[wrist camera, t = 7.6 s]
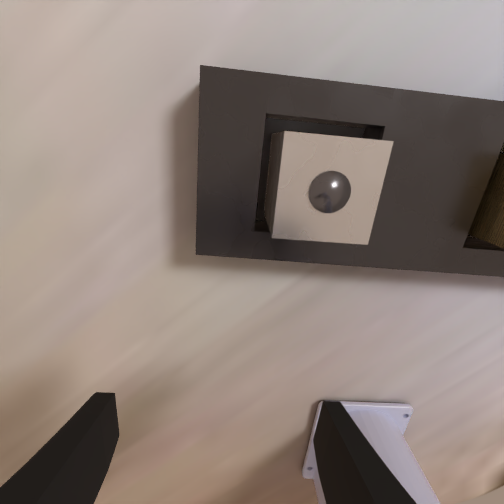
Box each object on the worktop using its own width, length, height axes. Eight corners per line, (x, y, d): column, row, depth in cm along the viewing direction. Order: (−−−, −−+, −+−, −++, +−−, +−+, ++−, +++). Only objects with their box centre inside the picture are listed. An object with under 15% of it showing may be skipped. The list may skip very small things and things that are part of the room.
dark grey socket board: (549, 266, 20) (589, 282, 17) (201, 240, 18) (195, 254, 16) (623, 125, 16) (684, 123, 14) (206, 76, 15) (200, 65, 12)
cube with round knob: (334, 217, 18) (368, 245, 13) (263, 212, 17) (272, 238, 13) (349, 141, 16) (394, 141, 11) (271, 134, 16) (285, 130, 11)
